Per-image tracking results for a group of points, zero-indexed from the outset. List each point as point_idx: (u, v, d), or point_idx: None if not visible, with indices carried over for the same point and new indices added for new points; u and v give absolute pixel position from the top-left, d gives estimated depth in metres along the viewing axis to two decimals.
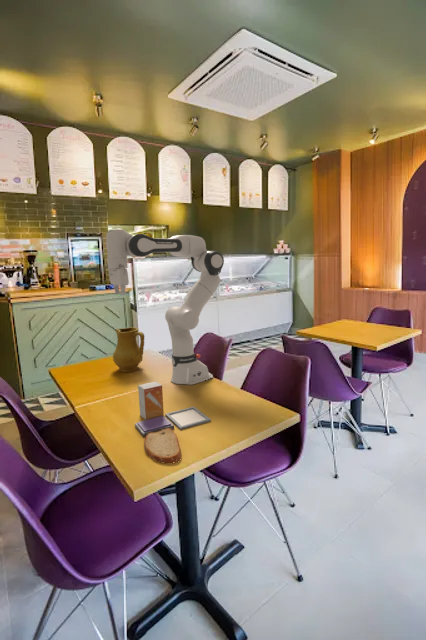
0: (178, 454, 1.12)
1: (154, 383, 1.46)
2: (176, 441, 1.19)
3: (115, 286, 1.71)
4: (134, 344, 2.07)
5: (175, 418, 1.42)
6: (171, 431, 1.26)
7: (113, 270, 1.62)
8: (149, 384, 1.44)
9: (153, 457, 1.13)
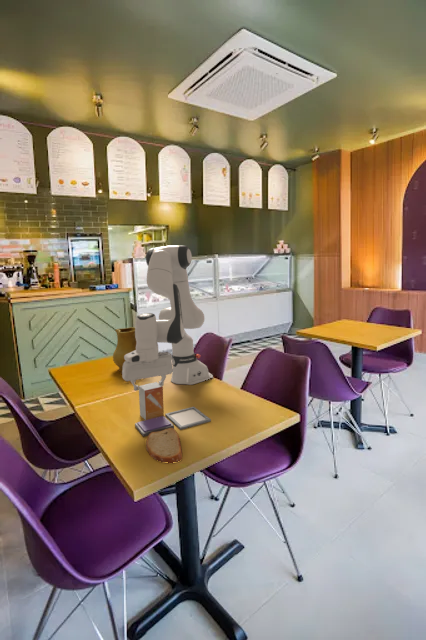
0: (179, 454, 1.12)
1: (155, 384, 1.46)
2: (178, 441, 1.19)
3: None
4: (134, 344, 2.07)
5: (175, 418, 1.42)
6: (173, 431, 1.26)
7: (154, 361, 1.40)
8: (149, 385, 1.44)
9: (154, 456, 1.13)
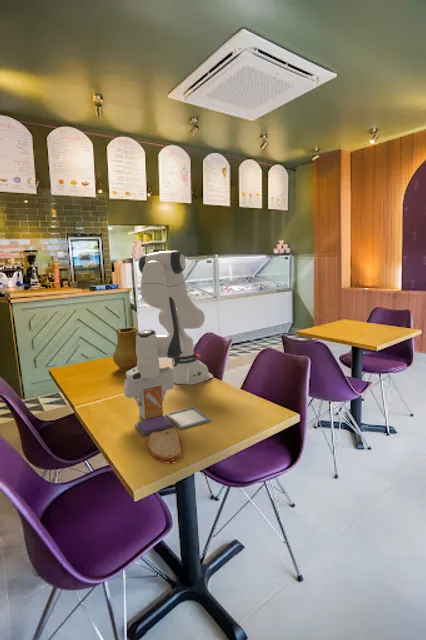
0: (179, 454, 1.12)
1: None
2: (178, 441, 1.19)
3: None
4: (134, 344, 2.07)
5: (175, 418, 1.42)
6: (174, 431, 1.26)
7: (155, 377, 1.42)
8: None
9: (154, 456, 1.13)
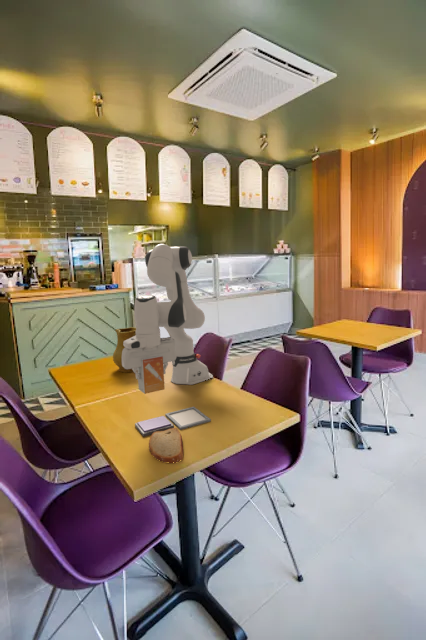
0: (179, 454, 1.12)
1: None
2: (179, 441, 1.19)
3: None
4: None
5: (175, 418, 1.42)
6: (176, 431, 1.26)
7: (155, 347, 1.29)
8: None
9: (155, 456, 1.13)
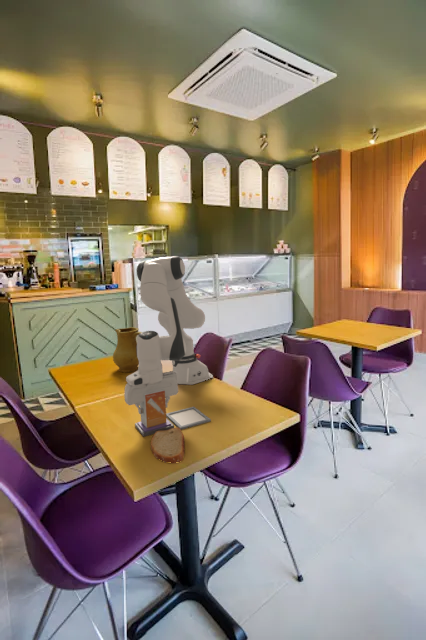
0: (180, 454, 1.12)
1: None
2: (181, 441, 1.18)
3: None
4: (134, 344, 2.07)
5: (175, 418, 1.42)
6: (179, 431, 1.26)
7: (158, 382, 1.31)
8: None
9: (156, 455, 1.14)
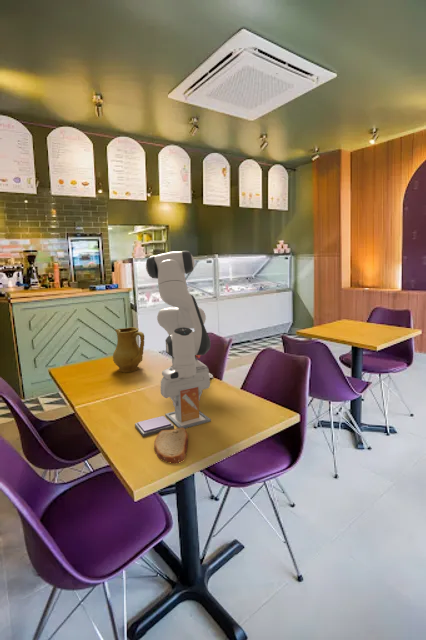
0: (181, 455, 1.12)
1: None
2: (184, 441, 1.18)
3: None
4: (134, 344, 2.07)
5: (175, 418, 1.42)
6: (183, 431, 1.26)
7: (192, 376, 1.38)
8: None
9: (158, 455, 1.14)
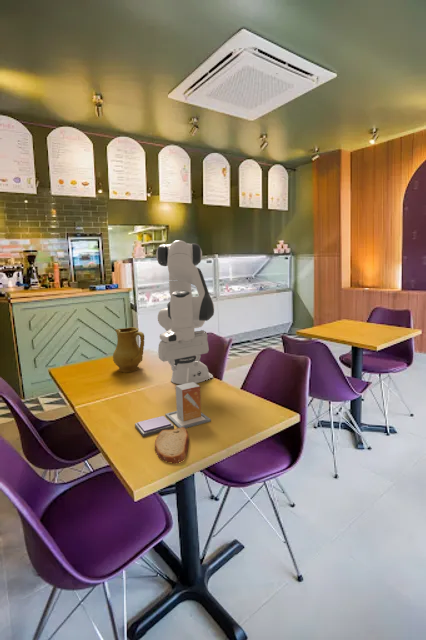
0: (181, 455, 1.12)
1: (192, 384, 1.43)
2: (184, 441, 1.18)
3: None
4: (134, 344, 2.07)
5: (175, 418, 1.42)
6: (184, 431, 1.25)
7: (190, 340, 1.35)
8: (186, 385, 1.41)
9: (158, 454, 1.14)
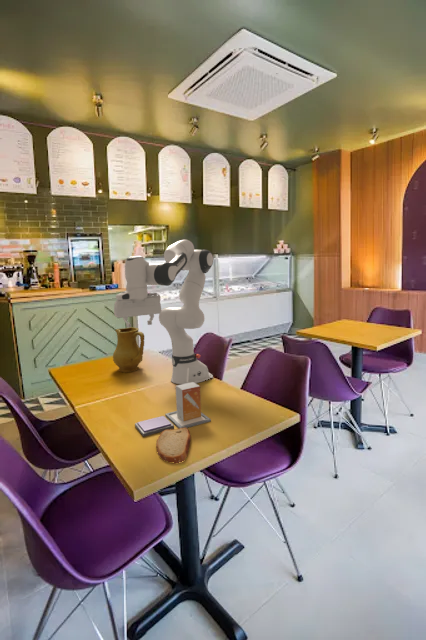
0: (182, 455, 1.11)
1: (192, 384, 1.43)
2: (186, 442, 1.18)
3: None
4: (134, 344, 2.07)
5: (175, 418, 1.42)
6: (186, 431, 1.25)
7: (143, 300, 1.51)
8: (186, 385, 1.41)
9: (159, 454, 1.14)
